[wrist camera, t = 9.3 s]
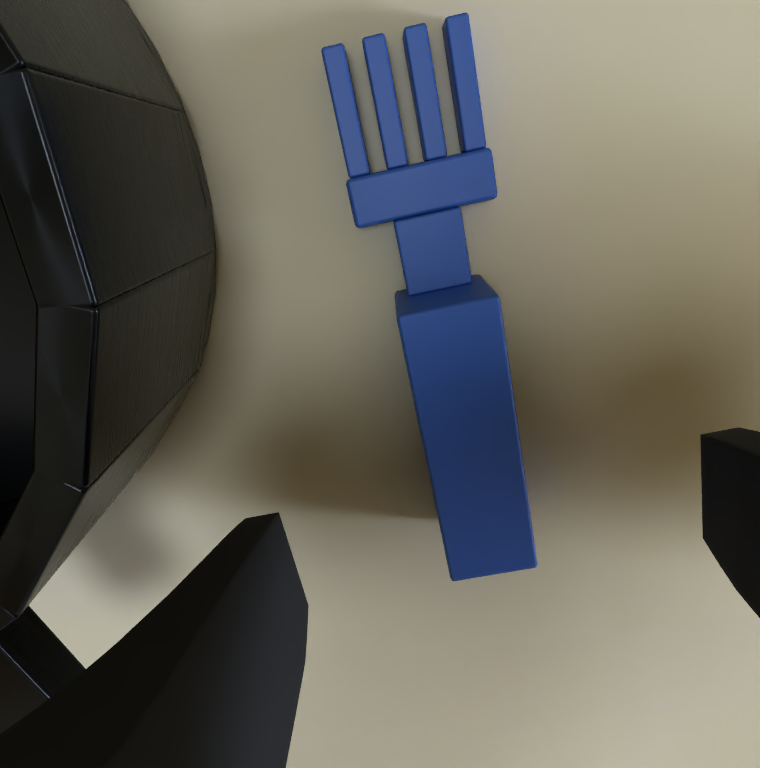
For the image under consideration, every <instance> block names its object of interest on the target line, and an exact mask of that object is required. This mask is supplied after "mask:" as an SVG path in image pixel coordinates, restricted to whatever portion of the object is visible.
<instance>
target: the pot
mask: <svg viewBox="0 0 760 768" xmlns="http://www.w3.org/2000/svg"><path fill="white" fill-rule="evenodd" d="M215 276H216V243H215V234H214V225H213V216H212V207H211V199H210V195H209V191H208V186H207V182H206V178H205V174H204V170H203V165H202V161H201V157H200V153H199V149H198V146H197V143H196V141H195V138H194V135H193V132H192V130H191V127H190V124H189V121H188V119H187V116H186V113H185V110H184V108H183V105H182V102H181V99H180V97H179V95H178V93H177V91H176V89H175V87H174V85H173V83H172V81H171V79H170V77H169V75H168V73H167V71H166V69H165V67H164V65H163V63H162V61H161V59H160V57H159V55H158V53H157V51H156V49H155V47H154V45H153V43H152V42H151V40H150V39H149V37H148V36H147V34H146V32H145V31H144V29H143V28H142V26H141V25H140V23H139V22H138V20H137V18H136V17H135V15H134V14H133V12H132V11H131V9H130V7H129V6H128V4H127V3H126V1H125V0H0V734H1V733H2V732H4V731H5V730H7V729H8V728H9V727H11V726H12V725H14V724H15V723H16V722H18V721H19V720H21V719H22V718H23V717H25V716H26V715H28V714H29V713H30V712H32V711H33V710H35V709H36V708H37V707H39V706H40V705H41V704H43V703H44V702H45V701H47V700H48V699H49V698H51V697H52V696H53V695H54V694H56V693H57V692H58V691H59V690H61V689H62V688H63V687H64V686H66V685H67V684H68V683H69V682H71V681H72V680H73V679H74V678H76V677H77V676H78V675H79V674H81V673H82V672H83V671H84V670H86V669H85V668H84V667H83V665H82V664H81V663H80V662H79V661H78V660H77V659H76V658H75V657H74V655H73V654H72V653H71V652H70V651H69V650H68V649H67V648H66V647H65V645H64V644H63V643H62V642H61V641H60V640H59V639H58V638H57V637H56V635H55V634H54V633H53V632H52V631H51V630H50V629H49V628H48V627H47V625H46V624H45V623H44V622H43V621H42V620H41V619H40V618H39V617H38V615H37V614H36V613H35V612H34V611H33V610H32V609H31V608H30V606H29V604H30V603H31V601H32V600H33V599H34V598H35V596H36V595H37V594H38V593H39V592H40V590H41V589H42V588H43V587H44V585H45V584H46V583H47V582H48V581H49V579H50V578H51V577H52V576H53V574H54V573H55V572H56V571H57V569H58V568H59V567H60V566H61V565H62V563H63V562H64V561H65V560H66V558H67V557H68V556H69V555H70V554H71V552H72V551H73V550H74V549H75V547H76V546H77V545H78V544H79V542H80V541H81V540H82V539H83V538H84V536H85V535H86V534H87V533H88V531H89V530H90V529H91V528H92V527H93V525H94V524H95V523H96V522H97V520H98V519H99V518H100V517H101V516H102V514H103V513H104V512H105V511H106V509H107V508H108V507H109V506H110V504H111V503H112V502H113V501H114V500H115V498H116V497H117V496H118V495H119V493H120V492H121V491H122V490H123V489H124V487H125V486H126V485H127V484H128V482H129V481H130V480H131V479H132V477H133V476H134V475H135V474H136V473H137V471H138V470H139V469H140V468H141V466H142V465H143V464H144V463H145V462H146V460H147V459H148V458H149V457H150V455H151V454H152V452H153V450H154V449H155V447H156V445H157V443H158V442H159V440H160V438H161V436H162V435H163V433H164V431H165V429H166V428H167V426H168V425H169V423H170V422H171V420H172V419H173V417H174V416H175V414H176V413H177V411H178V410H179V408H180V407H181V405H182V403H183V401H184V399H185V397H186V395H187V393H188V391H189V388H190V386H191V384H192V382H193V380H194V378H195V377H196V375H197V373H198V371H199V367H200V365H201V358H202V355H203V352H204V348H205V345H206V342H207V338H208V335H209V330H210V323H211V317H212V310H213V304H214V297H215Z"/></svg>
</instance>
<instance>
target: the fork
mask: <svg viewBox="0 0 760 768" xmlns="http://www.w3.org/2000/svg"><path fill="white" fill-rule="evenodd" d="M442 30H443V36H444V43H445V49H446V56H447V63H448V69H449V76H450V83H451V89H452V96H453V102H454V109H455V116H456V122H457V129H458V135H459V142H460V149H461V152H463V153H460V154H456V155H452V156H447V157H446V155H447V151H446V145H445V139H444V132H443V126H442V120H441V114H440V107H439V101H438V95H437V89H436V82H435V76H434V70H433V64H432V57H431V51H430V45H429V38H428V32H427V26H426V24H425V23H421V24H417V25H413V26H409V27H406V28H404V32H403V43H404V49H405V55H406V61H407V66H408V72H409V78H410V84H411V90H412V95H413V101H414V107H415V113H416V118H417V124H418V130H419V136H420V141H421V147H422V153H423V159H424V161H425V162H421V163H416V164H412V165H408V160H407V154H406V149H405V143H404V138H403V132H402V127H401V121H400V116H399V110H398V105H397V99H396V94H395V88H394V83H393V77H392V72H391V66H390V61H389V56H388V50H387V45H386V39H385V35H384V34H383V33H380V34H376V35H372V36H368V37H364V38H363V40H362V43H363V49H364V54H365V59H366V64H367V69H368V74H369V79H370V85H371V90H372V95H373V100H374V105H375V110H376V115H377V120H378V126H379V131H380V136H381V141H382V146H383V151H384V156H385V161H386V167H387V169H390V170H385V171H381V172H377V173H372V174H369V173H370V168H369V163H368V158H367V153H366V148H365V143H364V139H363V134H362V129H361V124H360V119H359V114H358V109H357V104H356V100H355V95H354V90H353V85H352V80H351V75H350V70H349V65H348V60H347V56H346V51H345V48H344V45H343V44H341V43H340V44H336V45H332V46H328V47H324V48H322V51H321V52H322V56H323V61H324V65H325V70H326V75H327V79H328V84H329V88H330V93H331V98H332V102H333V107H334V111H335V116H336V121H337V125H338V130H339V134H340V139H341V143H342V148H343V153H344V157H345V162H346V166H347V171H348V176H349V177H350V179H349V180H347V183H346V186H347V190H348V195H349V199H350V204H351V208H352V213H353V217H354V222H355V225H356V227H357V228H363V227H368V226H372V225H377V224H381V223H386V222H391V221H393V222H394V227H395V232H396V237H397V242H398V247H399V252H400V257H401V262H402V267H403V272H404V277H405V282H406V287H407V289H406V290H402V291H397V292H396V293H395V304H396V315H397V322H398V327H399V332H400V337H401V342H402V346H403V351H404V356H405V361H406V366H407V371H408V375H409V380H410V385H411V390H412V395H413V399H414V404H415V409H416V414H417V419H418V424H419V428H420V433H421V438H422V443H423V448H424V453H425V457H426V462H427V467H428V472H429V477H430V482H431V486H432V491H433V496H434V501H435V506H436V510H437V515H438V520H439V525H440V530H441V535H442V539H443V544H444V549H445V554H446V559H447V564H448V568H449V573H450V578H451V579H452V581H458V580H464V579H470V578H476V577H482V576H488V575H494V574H500V573H506V572H512V571H518V570H524V569H530V568H535V567H537V558H536V551H535V544H534V537H533V530H532V522H531V515H530V508H529V501H528V494H527V487H526V480H525V473H524V466H523V459H522V452H521V445H520V437H519V430H518V423H517V416H516V409H515V402H514V395H513V388H512V381H511V374H510V367H509V359H508V352H507V345H506V338H505V331H504V324H503V317H502V310H501V303H500V298H499V296H498V295H497V294H496V292H495V291H494V290H493V289H492V288H491V287H490V286H489V285H488V284H487V283H486V282H485V280H484V279H483V278H482V277H481V276H480V275H473V276H471V271H470V265H469V259H468V252H467V246H466V239H465V233H464V227H463V220H462V214H461V209H460V208H459V206H463V205H468V204H473V203H477V202H482V201H486V200H491V199H494V198H495V197H496V196H497V187H496V180H495V172H494V165H493V158H492V151H491V150H490V148H485V147H486V140H485V133H484V125H483V118H482V111H481V103H480V96H479V89H478V81H477V74H476V67H475V59H474V52H473V45H472V37H471V30H470V23H469V15H468V13H462V14H458V15H454V16H450V17H447V18H446V19H445V22H444V24H443V27H442ZM406 165H408V166H406Z"/></svg>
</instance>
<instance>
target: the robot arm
mask: <svg viewBox="0 0 760 768" xmlns="http://www.w3.org/2000/svg"><path fill="white" fill-rule="evenodd" d="M701 478H702V524H703V539H704V541H705V542H706V544H707V545H708V547H709V549H710V550H711V552H712V553H713V555H714V557H715V558H716V560H717V561H718V563H719V565H720V566H721V568H722V569H723V571H724V572H725V574H726V575H727V577H728V578H729V580H730V581H731V583H732V584H733V586H734V587H735V588H736V590H737V591H738V592H739V594H740V595H741V596H742V597H743V599H744V600H745V601H746V602H747V603H748V605H749V606H750V607H751V608H752V609H753V611H754V612H755V613H756V614H757V615H758V616H759V618H760V432H758V431H754V430H749V429H744V428H733V429H728V430H723V431H717V432H712V433H706V434H701ZM307 624H308V603H307V600H306V597H305V593H304V590H303V587H302V584H301V581H300V578H299V574H298V571H297V568H296V565H295V562H294V559H293V556H292V552H291V549H290V546H289V543H288V540H287V537H286V533H285V530H284V527H283V524H282V521H281V518H280V515H279V512H278V513H272V514H267V515H261V516H256V517H251V518H245V519H244V520H243V521H242V522H241V523H239V524H238V525H237V526H236V527H235V528H234V529H233V530H232V531H231V532H230V533H229V534H228V535H227V536H226V537H225V538H224V539H223V540H222V541H221V542H220V543H219V544H218V545H217V546H216V547H215V548H214V549H213V550H212V551H211V552H210V553H209V554H208V555H207V556H206V557H205V558H204V559H203V560H202V561H201V562H200V563H199V564H198V565H197V566H196V567H195V568H194V569H193V570H192V571H191V572H190V574H189V575H188V576H187V577H186V578H185V579H184V580H183V581H182V582H181V583H180V584H179V585H178V586H177V587H176V588H175V589H174V590H173V591H172V592H171V593H170V594H169V595H168V596H167V597H166V598H164V599H163V600H162V601H161V602H160V603H159V604H158V605H157V606H156V607H155V608H154V609H153V610H152V611H151V612H150V613H148V614H147V615H146V616H145V617H144V618H143V619H142V620H141V621H140V622H139V623H138V624H137V625H136V626H135V627H133V628H132V629H131V630H130V631H129V632H128V633H127V634H126V635H125V636H124V637H123V638H122V639H121V640H120V641H118V642H117V643H116V644H115V645H114V646H113V647H112V648H110V649H109V650H108V651H107V652H106V653H105V654H104V655H102V656H101V657H100V658H99V659H98V660H96V661H95V662H94V663H93V664H92V665H91V666H89V667H88V668H87V669H86V670H84V671H83V672H82V673H81V674H79V675H78V676H77V677H76V678H74V679H73V680H72V681H71V682H69V683H68V684H67V685H66V686H64V687H63V688H62V689H61V690H59V691H58V692H57V693H56V694H54V695H53V696H52V697H51V698H49V699H48V700H47V701H45V702H44V703H43V704H41V705H40V706H39V707H37V708H36V709H35V710H33V711H32V712H30V713H29V714H28V715H26V716H25V717H23V718H22V719H21V720H19V721H18V722H16V723H15V724H14V725H12V726H11V727H9V728H8V729H7V730H5V731H4V732H2V733H1V734H0V768H286V763H287V757H288V752H289V747H290V741H291V736H292V731H293V726H294V720H295V715H296V710H297V704H298V699H299V693H300V688H301V682H302V677H303V671H304V665H305V657H306V643H307Z"/></svg>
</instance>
